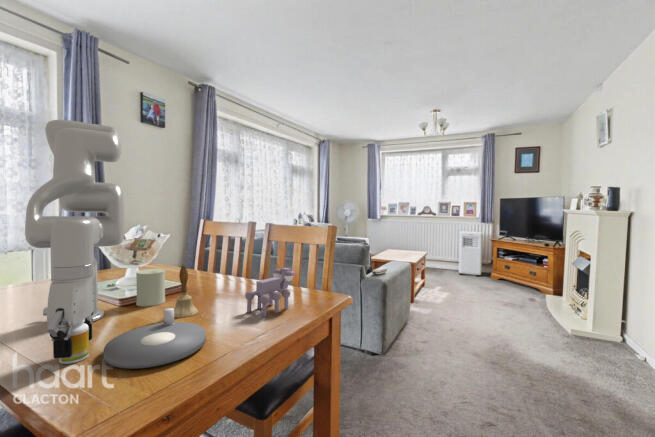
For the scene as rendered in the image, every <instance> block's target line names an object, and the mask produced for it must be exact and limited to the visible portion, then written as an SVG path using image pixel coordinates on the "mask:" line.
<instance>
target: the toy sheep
mask: <svg viewBox="0 0 655 437" xmlns="http://www.w3.org/2000/svg"><path fill="white" fill-rule="evenodd" d="M295 274H296V271H294V270H293V269H292V268H290V267H281V268H276V269H275V268H274V270H273V274H272V275H273V277H270V278H265V279H261V280H257V281H256V283H255V284H256V286H255V287H256V288H255V289H256V290H255V291H252V290H248V291H246V293H245V296H244V297H245V299H246V300H247V302H246V305H247V306H246V313H251V312H252V300H253V299H254V298H255V296H257V303H256V304H257V305H256V307H257V309H258V310H261V311H262V312H261V313H262V314H261V315H262V317H263V318H265V317H267V305H268V306H273V303H274V313H276V314H277V313H279V312H280V307H279V306H280V304H279V303H280V300H281V298H283V300H284V302H283V303H284V307H283V308H284V310H288V309H289V298H290V297H291V291H290V290H289V289H288V287H289V283H290V281H292V280H293V279H294V277H293V276H294V275H295Z"/></svg>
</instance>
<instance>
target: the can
mask: <svg viewBox="0 0 655 437" xmlns="http://www.w3.org/2000/svg"><path fill="white" fill-rule="evenodd" d="M165 283H166V270H165V269H164V268H148V269H147V268H146V269H145V268H144V269H140V270H138V271H136V301H135V302H136V303H135V305H136V306H137V307H142V308H144V307H154V306H158V305H162V304H164V303H165V302H166V288H165V287H166V284H165Z"/></svg>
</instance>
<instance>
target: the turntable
mask: <svg viewBox="0 0 655 437" xmlns="http://www.w3.org/2000/svg"><path fill="white" fill-rule="evenodd" d="M174 308H175V307H174ZM174 308H173V307H169V308H165V309H163V322H160V323H159V322H158V323H154V324H149V325H145V326H141V327H137V328H134V329H131V330H128V331H125V332H123V333H121V334H119V335H117V336H115V337H113V338H112V339H110V340H109V341H108V342H107V343H106V344H105V346H104V348H103V360H104V361H105V363H106V364H108V365H109V366H112V367H114V368H115V367H116V368H119V369H144V368H145V369H146V368H151V367H154V368H155V367H157V366H162V365H163V366H164V365H167V364H170V363H174V362H176V361H179V360H181V359H184V358H186V357H188V356H191V355H192V354H194V353H196V352H197V351H198V350H200V349H201V348H202V347H203V346H204V345H205V343H206V339H207V338H206V337H207V332H206V330H205V328H204V327H203V326H201V325H199V324H196V323H193V322H183V321H182V322H181V321H175V318H174Z"/></svg>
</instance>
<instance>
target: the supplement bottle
mask: <svg viewBox="0 0 655 437" xmlns="http://www.w3.org/2000/svg"><path fill="white" fill-rule="evenodd" d="M84 322H85V319H83V320H82V321H80V322H79V323H77V324H76V325H74V326H73V327H72V331H71V335H70V338H72V356H71V357H68V358H58V362H59V363H60V364H62V365H63V364H64V365H69V364H74V363H78V362H81V361H83V360H86V359H88V358H89V355H90V340H89V326H88V325H87V324H85V323H84ZM66 324H68V323H62V325H66ZM60 330H62V331H63V332H64V333H65V332H66V328H64V329H60Z"/></svg>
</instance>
